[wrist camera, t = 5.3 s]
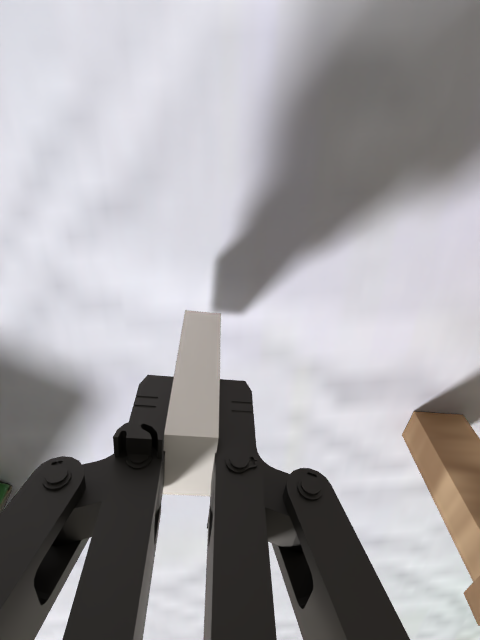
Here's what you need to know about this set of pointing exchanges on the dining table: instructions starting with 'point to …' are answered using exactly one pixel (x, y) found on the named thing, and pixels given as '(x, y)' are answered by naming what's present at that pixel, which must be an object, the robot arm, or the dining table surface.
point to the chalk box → (4, 494)
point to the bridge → (452, 483)
